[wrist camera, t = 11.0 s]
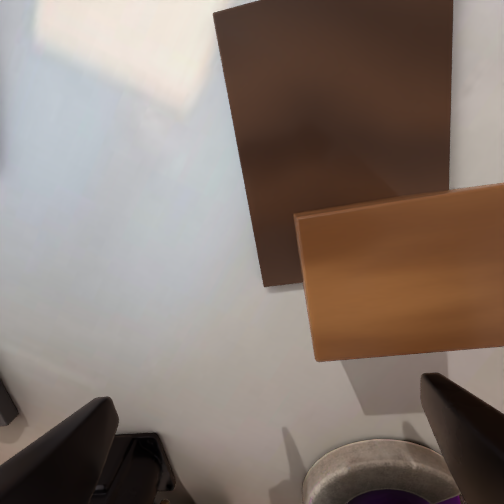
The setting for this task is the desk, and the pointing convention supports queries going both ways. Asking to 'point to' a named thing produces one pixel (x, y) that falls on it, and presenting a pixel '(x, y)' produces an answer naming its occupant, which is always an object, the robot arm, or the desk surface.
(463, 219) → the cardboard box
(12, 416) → the button block
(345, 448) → the webcam
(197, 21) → the desk surface
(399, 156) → the brown wooden board
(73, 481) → the robot arm
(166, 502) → the toy
